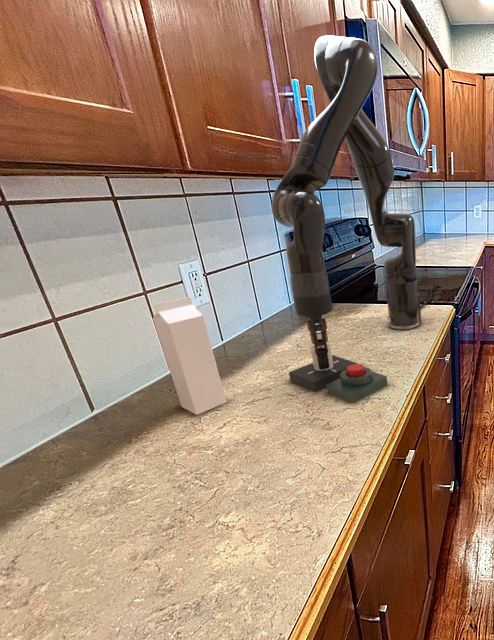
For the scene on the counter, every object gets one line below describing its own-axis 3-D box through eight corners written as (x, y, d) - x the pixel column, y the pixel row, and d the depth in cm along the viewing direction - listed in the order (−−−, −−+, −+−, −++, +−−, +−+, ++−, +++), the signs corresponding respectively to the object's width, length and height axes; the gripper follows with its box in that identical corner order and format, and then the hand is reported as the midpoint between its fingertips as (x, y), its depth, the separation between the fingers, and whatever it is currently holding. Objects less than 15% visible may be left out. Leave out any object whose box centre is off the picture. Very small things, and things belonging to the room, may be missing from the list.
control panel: (333, 364, 105) (332, 354, 103) (358, 372, 100) (357, 362, 99) (290, 382, 95) (288, 371, 94) (316, 392, 91) (314, 381, 90)
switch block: (362, 376, 98) (360, 360, 96) (387, 385, 94) (386, 369, 92) (327, 393, 90) (324, 376, 89) (353, 403, 86) (350, 386, 85)
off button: (357, 369, 93) (356, 362, 92) (368, 373, 91) (367, 366, 91) (344, 375, 90) (343, 368, 90) (355, 379, 89) (354, 372, 88)
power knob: (313, 365, 98) (310, 344, 96) (332, 362, 99) (329, 341, 97) (314, 372, 94) (310, 350, 92) (334, 369, 96) (330, 347, 94)
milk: (227, 402, 87) (199, 298, 78) (196, 415, 82) (163, 306, 73) (211, 395, 90) (182, 294, 81) (180, 407, 85) (146, 301, 76)
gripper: (332, 297, 85) (344, 373, 92) (326, 282, 97) (337, 350, 104) (292, 301, 82) (307, 379, 89) (291, 285, 94) (304, 355, 101)
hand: (323, 363), depth 96 cm, fingers closed on power knob, 4 cm apart
